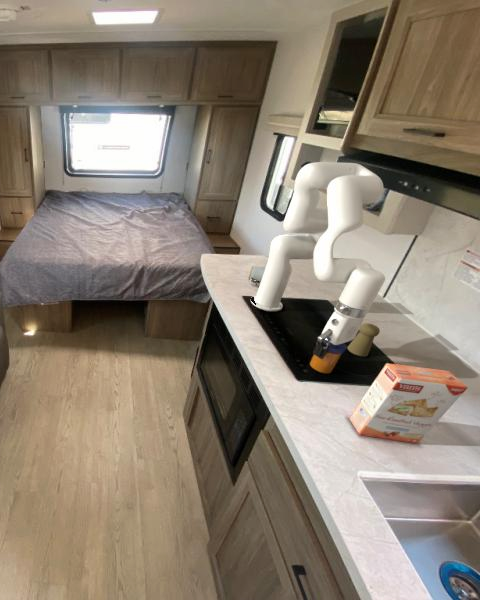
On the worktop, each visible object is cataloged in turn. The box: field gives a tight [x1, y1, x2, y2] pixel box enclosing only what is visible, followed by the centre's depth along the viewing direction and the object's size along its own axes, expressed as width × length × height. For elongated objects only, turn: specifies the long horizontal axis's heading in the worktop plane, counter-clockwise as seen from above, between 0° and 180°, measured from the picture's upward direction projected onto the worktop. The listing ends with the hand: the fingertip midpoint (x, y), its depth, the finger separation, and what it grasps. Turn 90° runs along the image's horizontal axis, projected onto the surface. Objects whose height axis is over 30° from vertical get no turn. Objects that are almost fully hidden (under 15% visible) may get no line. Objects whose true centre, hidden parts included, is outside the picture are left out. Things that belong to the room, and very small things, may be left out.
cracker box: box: [348, 362, 468, 445], centre depth 83 cm, size 14×6×21 cm, turn 80°
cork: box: [346, 322, 381, 357], centre depth 115 cm, size 6×6×11 cm
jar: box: [309, 351, 343, 374], centre depth 107 cm, size 6×6×10 cm
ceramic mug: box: [248, 265, 266, 287], centre depth 161 cm, size 11×8×8 cm
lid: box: [324, 337, 348, 355], centre depth 105 cm, size 7×7×2 cm
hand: (327, 352), depth 107 cm, fingers open, 9 cm apart
